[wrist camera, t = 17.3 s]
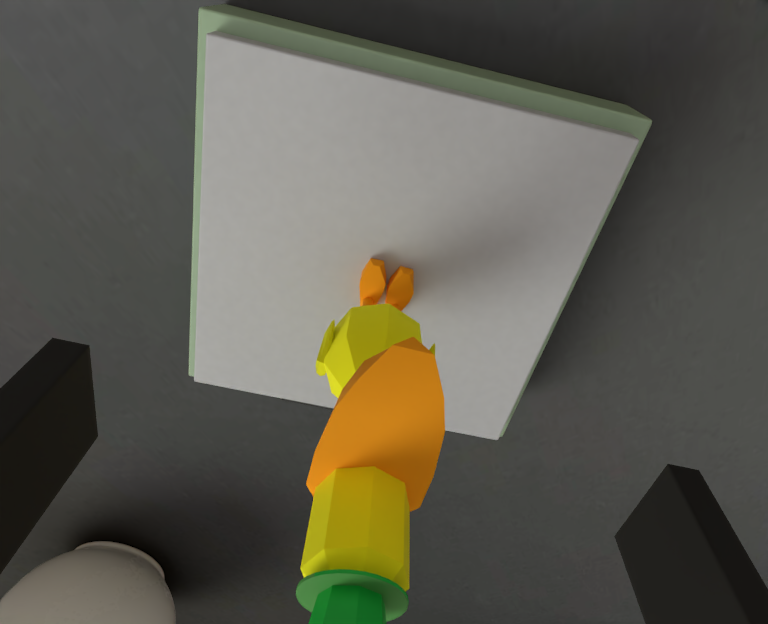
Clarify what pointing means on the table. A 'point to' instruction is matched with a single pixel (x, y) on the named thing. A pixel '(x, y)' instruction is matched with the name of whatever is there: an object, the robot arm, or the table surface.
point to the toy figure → (371, 456)
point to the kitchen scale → (387, 207)
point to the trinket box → (92, 589)
